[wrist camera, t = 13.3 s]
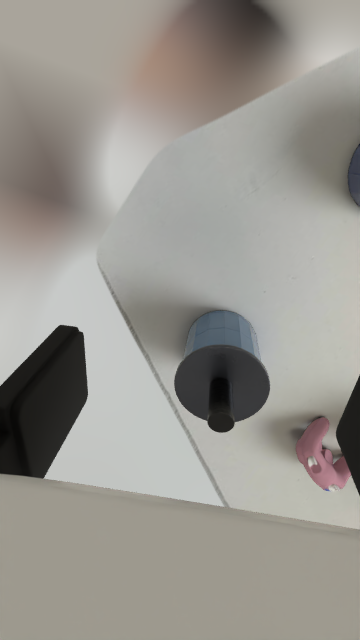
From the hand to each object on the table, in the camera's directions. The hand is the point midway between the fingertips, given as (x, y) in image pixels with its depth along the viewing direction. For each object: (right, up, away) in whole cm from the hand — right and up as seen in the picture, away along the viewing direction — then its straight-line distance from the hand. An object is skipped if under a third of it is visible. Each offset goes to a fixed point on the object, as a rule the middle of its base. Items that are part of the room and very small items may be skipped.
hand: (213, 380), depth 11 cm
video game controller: (+20, -16, +36) cm, 44 cm away
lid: (+3, -5, +22) cm, 23 cm away
